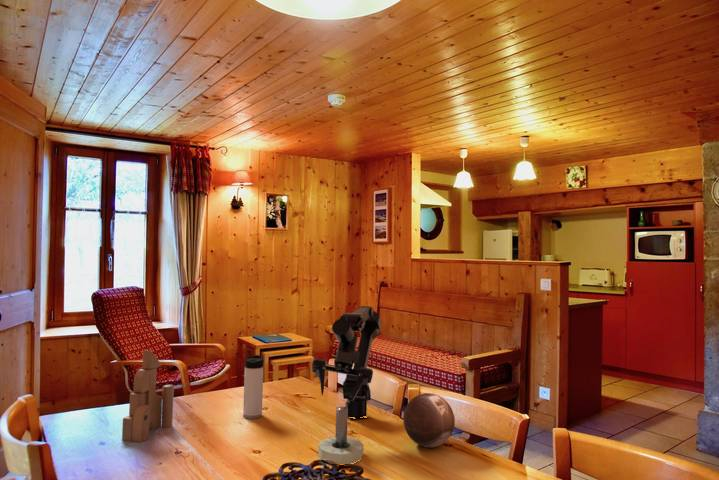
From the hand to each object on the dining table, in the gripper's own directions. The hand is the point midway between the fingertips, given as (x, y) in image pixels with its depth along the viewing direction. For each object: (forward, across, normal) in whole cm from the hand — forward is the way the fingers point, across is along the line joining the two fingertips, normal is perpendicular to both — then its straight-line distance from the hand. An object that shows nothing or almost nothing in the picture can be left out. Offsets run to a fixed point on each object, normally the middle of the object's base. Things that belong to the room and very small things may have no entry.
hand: (337, 397), depth 145 cm
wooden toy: (+17, -54, +13) cm, 59 cm away
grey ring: (+16, +4, -2) cm, 17 cm away
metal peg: (+16, +4, -2) cm, 17 cm away
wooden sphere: (+8, +29, +4) cm, 30 cm away
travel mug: (+4, -28, +26) cm, 38 cm away
